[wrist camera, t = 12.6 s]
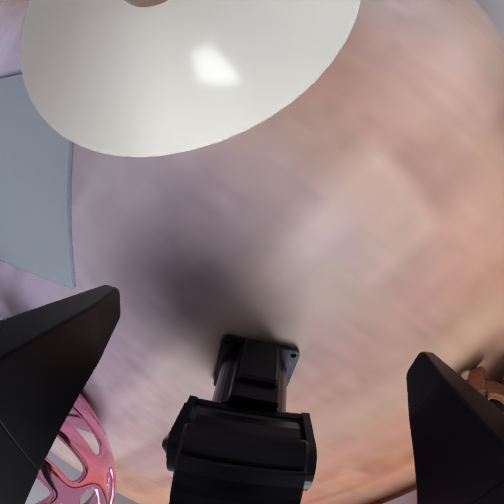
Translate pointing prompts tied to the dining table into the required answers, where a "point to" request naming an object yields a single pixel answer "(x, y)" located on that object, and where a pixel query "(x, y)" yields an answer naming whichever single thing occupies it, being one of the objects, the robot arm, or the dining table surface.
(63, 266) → the rubber mat
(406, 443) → the dining table surface
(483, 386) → the pottery mug
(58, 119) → the ceramic lid
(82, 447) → the spiral basket
